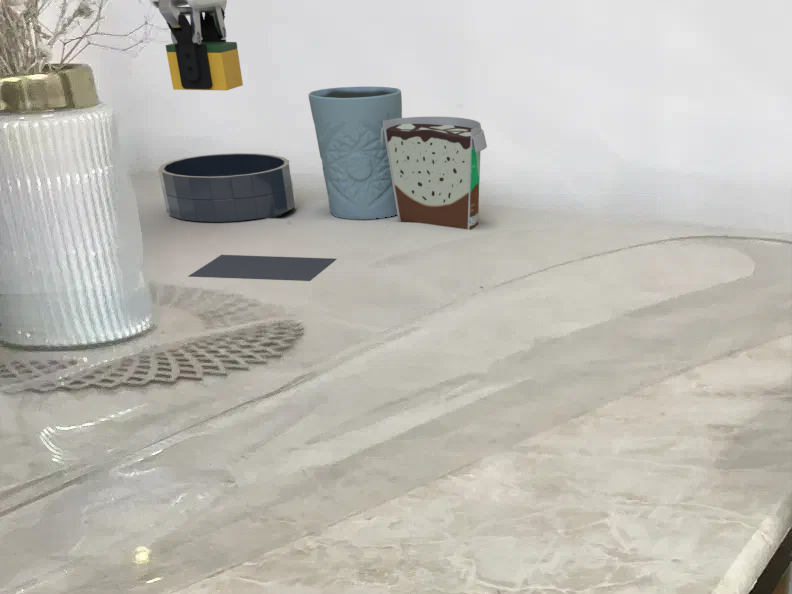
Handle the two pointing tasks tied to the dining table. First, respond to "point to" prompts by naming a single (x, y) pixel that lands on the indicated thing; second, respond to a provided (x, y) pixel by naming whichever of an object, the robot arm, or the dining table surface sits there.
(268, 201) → the bowl
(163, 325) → the dining table surface
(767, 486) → the dining table surface
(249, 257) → the mat
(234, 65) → the sponge
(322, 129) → the blue embossed cup
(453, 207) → the food container
